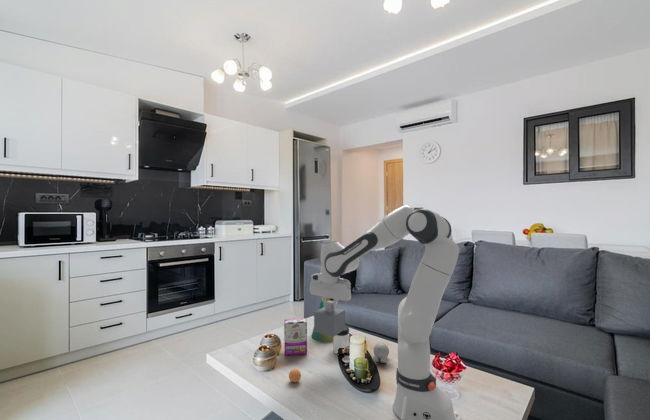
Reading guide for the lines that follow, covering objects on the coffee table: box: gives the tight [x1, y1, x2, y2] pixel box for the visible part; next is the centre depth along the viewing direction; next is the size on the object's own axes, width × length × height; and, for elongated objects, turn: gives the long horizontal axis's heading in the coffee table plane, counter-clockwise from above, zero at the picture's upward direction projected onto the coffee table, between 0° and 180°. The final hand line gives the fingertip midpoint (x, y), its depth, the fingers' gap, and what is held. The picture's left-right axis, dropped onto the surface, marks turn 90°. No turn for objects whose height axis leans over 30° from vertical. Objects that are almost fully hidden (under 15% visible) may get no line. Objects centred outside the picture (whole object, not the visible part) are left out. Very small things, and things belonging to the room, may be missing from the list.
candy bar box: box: [283, 318, 308, 357], centre depth 152 cm, size 11×5×16 cm, turn 97°
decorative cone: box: [311, 297, 333, 344], centre depth 172 cm, size 16×16×30 cm
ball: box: [288, 368, 302, 383], centre depth 127 cm, size 5×5×5 cm
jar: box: [332, 324, 350, 355], centre depth 154 cm, size 9×8×12 cm
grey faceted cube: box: [313, 300, 346, 337], centre depth 138 cm, size 10×10×13 cm
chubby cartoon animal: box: [372, 342, 390, 364], centre depth 145 cm, size 7×12×8 cm, turn 154°
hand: (329, 307), depth 138 cm, fingers closed on grey faceted cube, 3 cm apart
